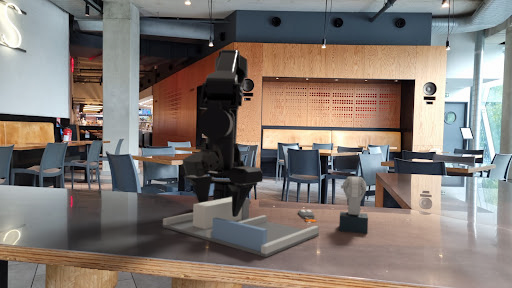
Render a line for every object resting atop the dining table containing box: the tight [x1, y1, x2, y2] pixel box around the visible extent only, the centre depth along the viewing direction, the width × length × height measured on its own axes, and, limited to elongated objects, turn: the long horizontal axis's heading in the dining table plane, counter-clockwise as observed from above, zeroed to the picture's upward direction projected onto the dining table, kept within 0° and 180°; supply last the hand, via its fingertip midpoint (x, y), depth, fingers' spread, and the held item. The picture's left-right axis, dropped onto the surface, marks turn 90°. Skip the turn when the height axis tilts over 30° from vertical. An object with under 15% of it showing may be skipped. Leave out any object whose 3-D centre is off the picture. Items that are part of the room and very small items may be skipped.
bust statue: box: [338, 175, 369, 235], centre depth 78 cm, size 6×8×11 cm
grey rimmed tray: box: [162, 212, 320, 258], centre depth 74 cm, size 17×26×4 cm, turn 51°
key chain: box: [297, 209, 317, 224], centre depth 86 cm, size 13×4×2 cm, turn 3°
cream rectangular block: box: [192, 197, 250, 229], centre depth 79 cm, size 13×4×4 cm, turn 141°
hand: (218, 212), depth 79 cm, fingers open, 9 cm apart
